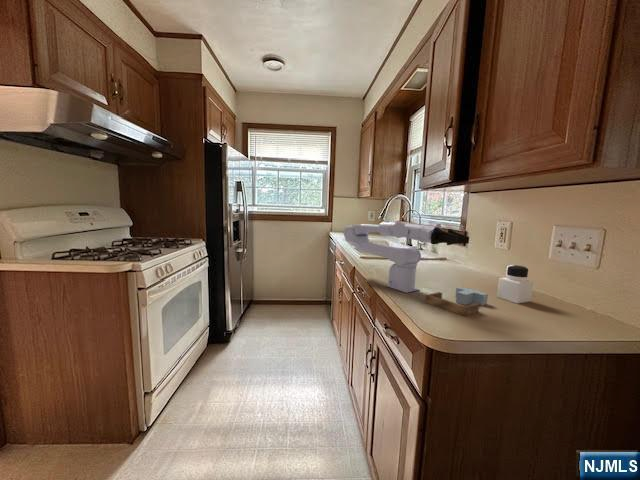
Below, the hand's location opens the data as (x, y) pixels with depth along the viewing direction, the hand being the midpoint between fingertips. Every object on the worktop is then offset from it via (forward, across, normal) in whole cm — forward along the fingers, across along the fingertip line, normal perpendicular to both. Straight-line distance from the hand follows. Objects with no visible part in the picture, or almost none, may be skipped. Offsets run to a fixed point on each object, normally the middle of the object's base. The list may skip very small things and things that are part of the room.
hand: (463, 239), depth 86 cm
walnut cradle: (+1, -2, +21) cm, 22 cm away
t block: (+2, +9, +20) cm, 22 cm away
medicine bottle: (+10, +25, +19) cm, 33 cm away
